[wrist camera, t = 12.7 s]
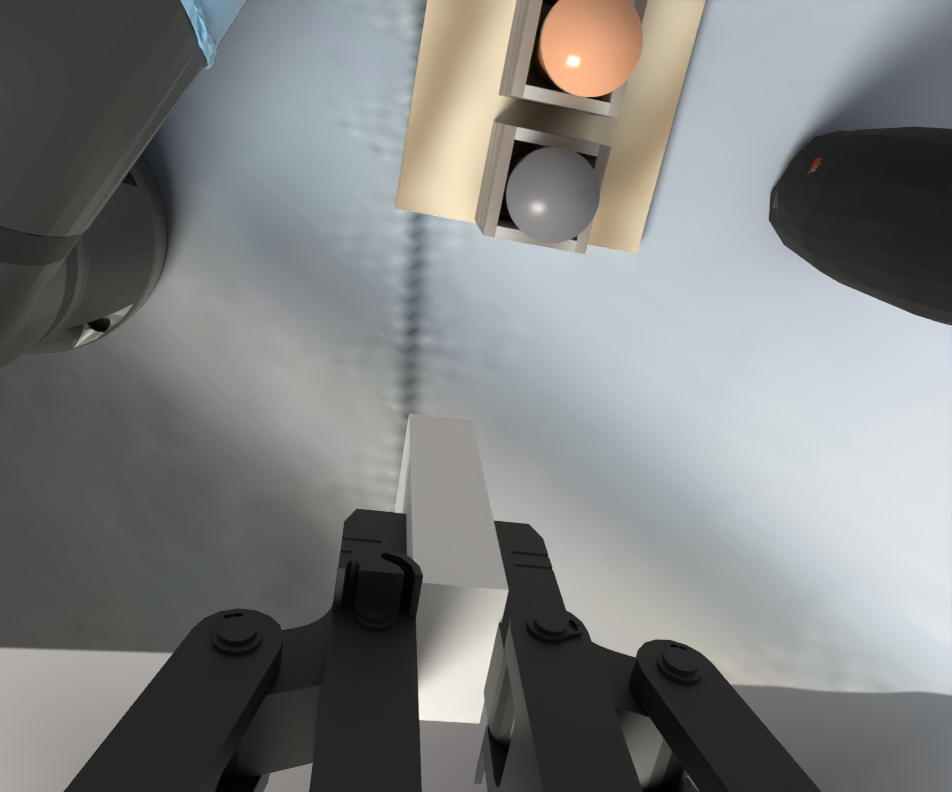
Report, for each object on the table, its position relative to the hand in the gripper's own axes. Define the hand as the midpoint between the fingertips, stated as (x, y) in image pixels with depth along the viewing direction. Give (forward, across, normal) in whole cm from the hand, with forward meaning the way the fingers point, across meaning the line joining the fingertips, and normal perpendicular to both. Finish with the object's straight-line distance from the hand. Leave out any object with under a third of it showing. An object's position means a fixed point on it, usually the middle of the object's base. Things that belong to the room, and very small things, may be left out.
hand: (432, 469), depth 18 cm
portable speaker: (+30, +25, +7) cm, 40 cm away
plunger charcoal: (+28, +6, +5) cm, 29 cm away
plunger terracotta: (+28, +6, +12) cm, 31 cm away
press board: (+30, +6, +12) cm, 33 cm away
